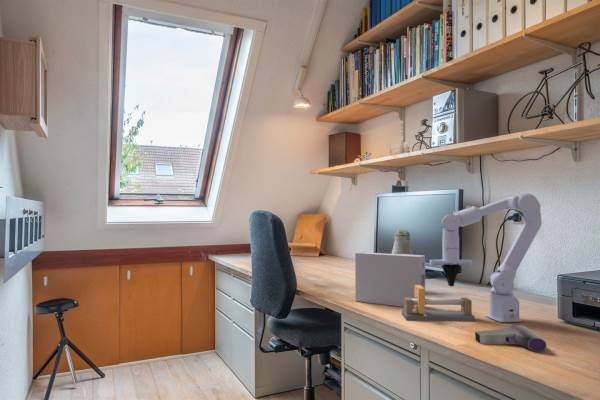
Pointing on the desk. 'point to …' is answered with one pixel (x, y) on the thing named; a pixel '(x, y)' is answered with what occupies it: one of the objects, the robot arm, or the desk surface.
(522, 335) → the infrared thermometer
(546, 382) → the desk surface
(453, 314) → the pipe stand
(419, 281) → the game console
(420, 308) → the collar
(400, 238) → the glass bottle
